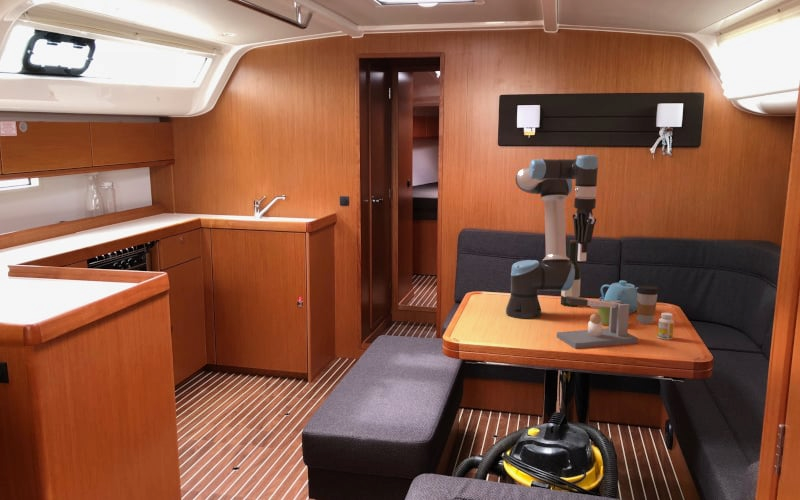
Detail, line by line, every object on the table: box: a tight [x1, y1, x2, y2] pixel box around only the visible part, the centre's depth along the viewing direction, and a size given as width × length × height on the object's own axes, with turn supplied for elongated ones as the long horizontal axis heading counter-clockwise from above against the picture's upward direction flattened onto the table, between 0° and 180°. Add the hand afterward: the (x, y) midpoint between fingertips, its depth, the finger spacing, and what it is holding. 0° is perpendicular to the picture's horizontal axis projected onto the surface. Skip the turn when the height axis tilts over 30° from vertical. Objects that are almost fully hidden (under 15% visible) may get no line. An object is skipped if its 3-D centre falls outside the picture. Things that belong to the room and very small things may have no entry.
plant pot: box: [597, 301, 611, 327], centre depth 265 cm, size 9×9×9 cm
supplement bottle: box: [657, 312, 675, 341], centre depth 246 cm, size 5×5×10 cm
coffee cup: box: [636, 284, 659, 325], centre depth 267 cm, size 8×8×15 cm
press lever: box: [565, 296, 621, 310], centre depth 241 cm, size 4×23×3 cm, turn 104°
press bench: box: [556, 301, 639, 349], centre depth 242 cm, size 14×26×14 cm, turn 104°
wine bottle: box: [560, 239, 582, 308], centre depth 294 cm, size 8×8×30 cm
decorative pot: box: [598, 279, 638, 315], centre depth 285 cm, size 16×16×14 cm
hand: (581, 260), depth 239 cm, fingers closed
